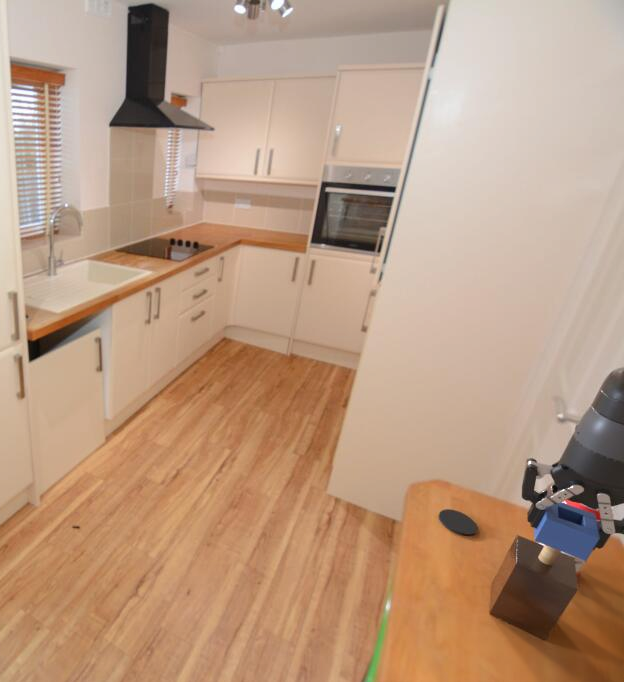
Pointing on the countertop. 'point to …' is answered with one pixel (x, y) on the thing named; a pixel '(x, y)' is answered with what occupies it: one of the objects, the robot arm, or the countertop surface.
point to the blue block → (568, 530)
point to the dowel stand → (533, 587)
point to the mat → (458, 522)
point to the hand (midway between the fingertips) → (561, 534)
